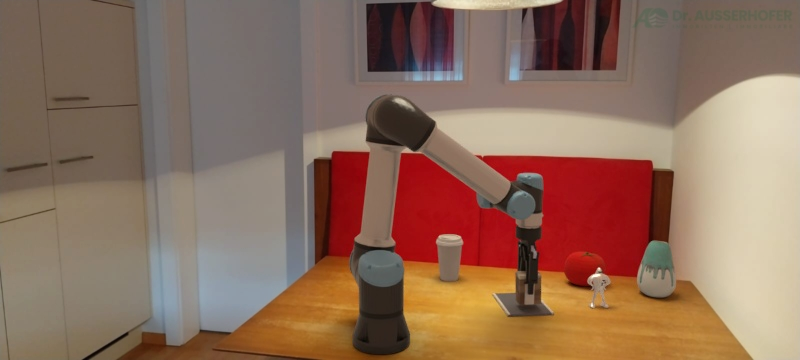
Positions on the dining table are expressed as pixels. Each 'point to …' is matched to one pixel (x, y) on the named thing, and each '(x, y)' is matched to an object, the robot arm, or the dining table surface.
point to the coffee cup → (449, 256)
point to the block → (520, 288)
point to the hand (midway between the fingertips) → (526, 300)
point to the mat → (520, 306)
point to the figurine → (598, 286)
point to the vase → (657, 270)
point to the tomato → (582, 267)
